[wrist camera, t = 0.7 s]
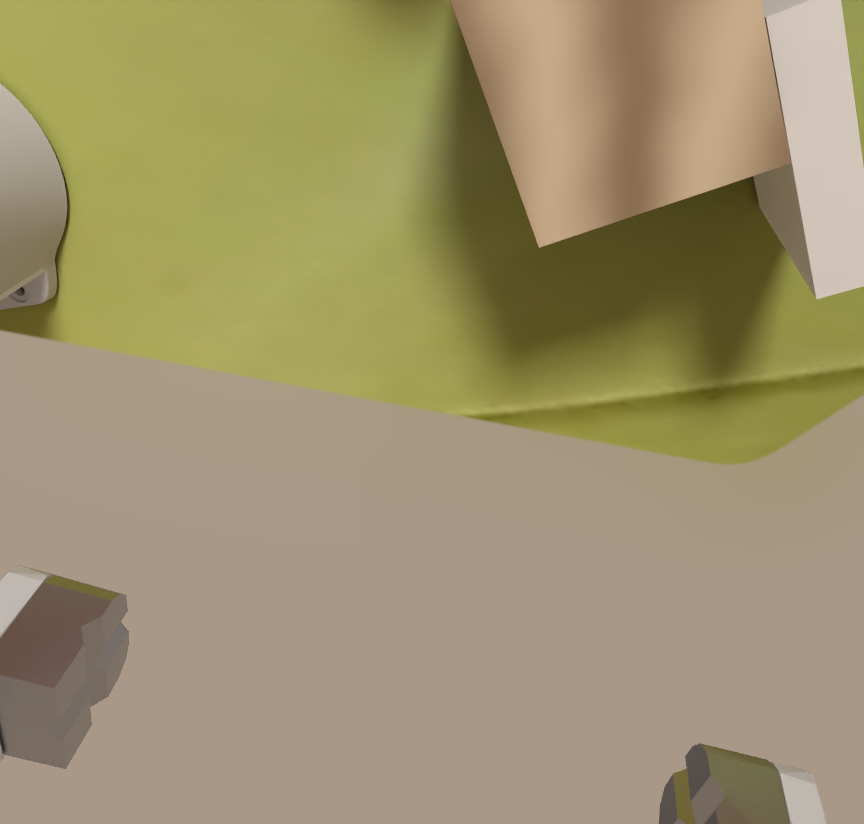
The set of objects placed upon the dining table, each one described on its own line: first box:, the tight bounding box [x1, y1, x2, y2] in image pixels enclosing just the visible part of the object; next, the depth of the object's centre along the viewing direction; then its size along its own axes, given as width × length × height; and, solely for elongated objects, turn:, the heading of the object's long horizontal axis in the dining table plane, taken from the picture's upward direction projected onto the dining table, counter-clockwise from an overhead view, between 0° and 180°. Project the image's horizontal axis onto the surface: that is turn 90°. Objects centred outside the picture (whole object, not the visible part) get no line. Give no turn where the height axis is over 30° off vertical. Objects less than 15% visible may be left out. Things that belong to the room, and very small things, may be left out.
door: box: [753, 0, 864, 299], centre depth 36 cm, size 3×12×12 cm, turn 23°
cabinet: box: [450, 0, 791, 248], centre depth 35 cm, size 15×21×14 cm
